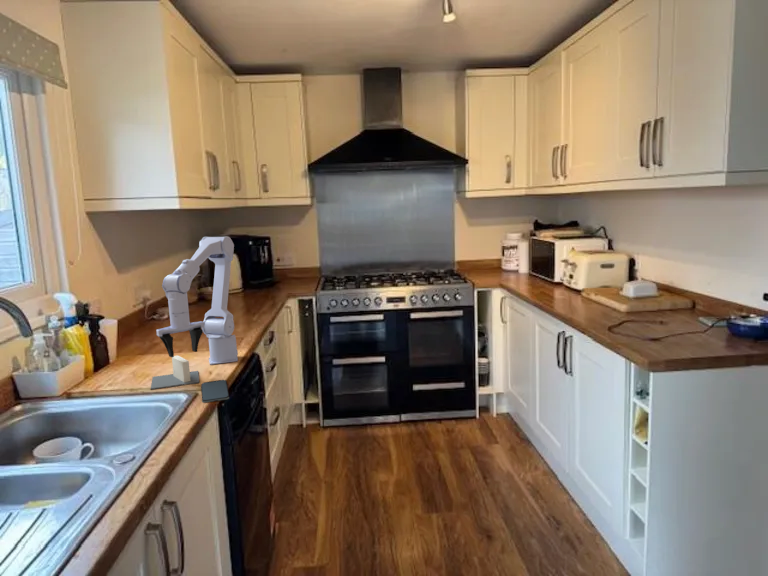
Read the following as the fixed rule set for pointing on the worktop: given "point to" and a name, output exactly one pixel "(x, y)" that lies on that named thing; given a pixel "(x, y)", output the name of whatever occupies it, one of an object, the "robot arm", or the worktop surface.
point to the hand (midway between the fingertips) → (183, 353)
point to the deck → (181, 368)
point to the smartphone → (214, 391)
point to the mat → (172, 380)
